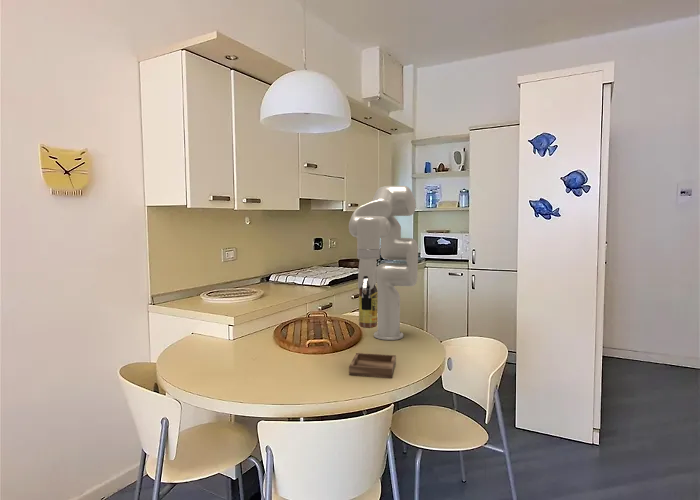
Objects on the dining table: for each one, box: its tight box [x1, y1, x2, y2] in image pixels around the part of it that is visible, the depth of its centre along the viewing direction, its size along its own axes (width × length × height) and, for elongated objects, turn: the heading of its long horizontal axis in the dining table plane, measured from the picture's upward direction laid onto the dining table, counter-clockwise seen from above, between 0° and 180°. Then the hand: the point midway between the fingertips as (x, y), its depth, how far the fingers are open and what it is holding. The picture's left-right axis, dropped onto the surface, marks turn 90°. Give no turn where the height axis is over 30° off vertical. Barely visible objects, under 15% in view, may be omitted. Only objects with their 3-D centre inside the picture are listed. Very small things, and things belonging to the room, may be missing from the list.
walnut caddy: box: [348, 352, 397, 379], centre depth 150 cm, size 14×14×3 cm
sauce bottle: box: [358, 284, 378, 329], centre depth 148 cm, size 7×6×20 cm
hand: (368, 306), depth 149 cm, fingers closed on sauce bottle, 6 cm apart
